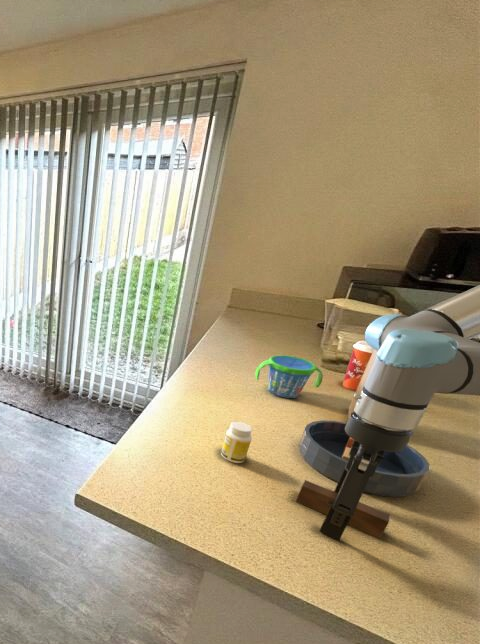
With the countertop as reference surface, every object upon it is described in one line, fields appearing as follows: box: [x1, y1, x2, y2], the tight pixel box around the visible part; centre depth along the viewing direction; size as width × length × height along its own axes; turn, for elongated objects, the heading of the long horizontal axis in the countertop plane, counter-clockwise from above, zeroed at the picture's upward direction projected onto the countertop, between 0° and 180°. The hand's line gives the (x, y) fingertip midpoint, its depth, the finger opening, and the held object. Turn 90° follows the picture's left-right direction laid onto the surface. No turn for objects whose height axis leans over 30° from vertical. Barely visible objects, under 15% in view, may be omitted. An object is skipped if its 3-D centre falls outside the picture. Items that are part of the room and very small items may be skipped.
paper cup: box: [342, 340, 374, 392], centre depth 116 cm, size 8×8×14 cm
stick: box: [295, 479, 391, 539], centre depth 73 cm, size 12×2×4 cm, turn 42°
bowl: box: [297, 419, 431, 498], centre depth 86 cm, size 20×20×6 cm
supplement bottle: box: [220, 421, 253, 464], centre depth 89 cm, size 5×5×8 cm
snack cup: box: [254, 354, 324, 399], centre depth 115 cm, size 16×10×10 cm
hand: (336, 515), depth 74 cm, fingers open, 13 cm apart
